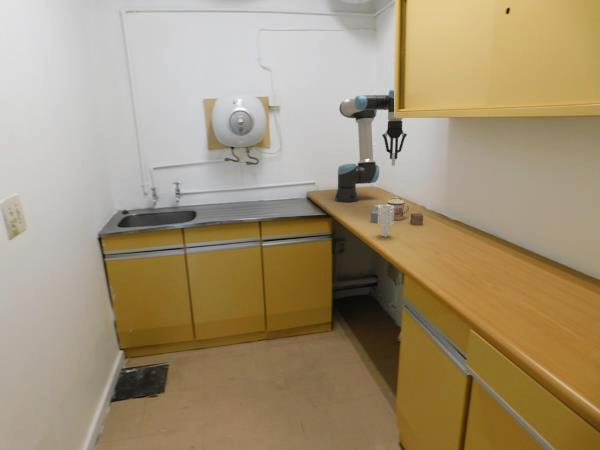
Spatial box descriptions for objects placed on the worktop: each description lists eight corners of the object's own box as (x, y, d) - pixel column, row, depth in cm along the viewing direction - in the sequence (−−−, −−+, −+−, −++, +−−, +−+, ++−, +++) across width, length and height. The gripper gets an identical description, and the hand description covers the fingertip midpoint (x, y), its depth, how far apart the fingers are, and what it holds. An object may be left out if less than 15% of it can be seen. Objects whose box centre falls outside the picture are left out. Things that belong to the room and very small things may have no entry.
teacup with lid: (389, 220, 196) (390, 198, 193) (384, 216, 205) (385, 195, 202) (411, 219, 197) (412, 198, 194) (405, 215, 206) (406, 194, 203)
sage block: (372, 213, 212) (372, 204, 211) (380, 212, 213) (381, 204, 212) (375, 215, 207) (376, 206, 206) (384, 214, 208) (384, 206, 207)
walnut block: (410, 222, 192) (410, 213, 191) (420, 222, 192) (420, 213, 191) (412, 225, 188) (413, 215, 186) (422, 225, 187) (423, 215, 186)
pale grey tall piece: (379, 238, 168) (380, 206, 163) (375, 233, 174) (376, 202, 170) (394, 237, 168) (396, 205, 164) (390, 233, 175) (391, 202, 171)
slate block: (373, 219, 198) (373, 210, 197) (382, 221, 196) (382, 211, 195) (370, 222, 194) (370, 212, 193) (379, 223, 192) (380, 213, 191)
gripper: (381, 120, 196) (380, 165, 202) (407, 120, 192) (405, 166, 198) (383, 120, 203) (381, 164, 209) (408, 120, 199) (405, 164, 205)
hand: (393, 165), depth 203 cm, fingers closed
